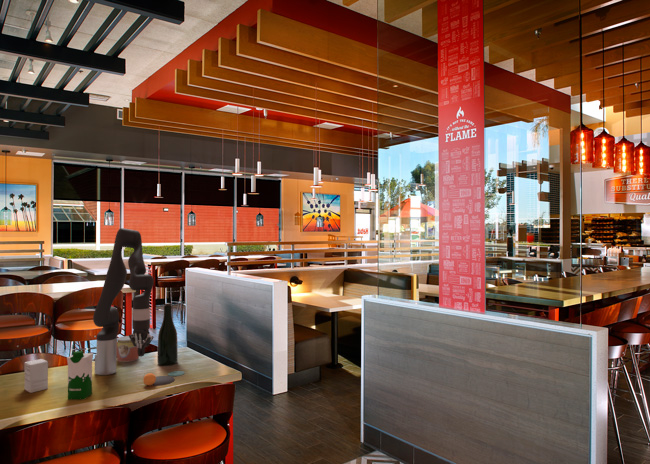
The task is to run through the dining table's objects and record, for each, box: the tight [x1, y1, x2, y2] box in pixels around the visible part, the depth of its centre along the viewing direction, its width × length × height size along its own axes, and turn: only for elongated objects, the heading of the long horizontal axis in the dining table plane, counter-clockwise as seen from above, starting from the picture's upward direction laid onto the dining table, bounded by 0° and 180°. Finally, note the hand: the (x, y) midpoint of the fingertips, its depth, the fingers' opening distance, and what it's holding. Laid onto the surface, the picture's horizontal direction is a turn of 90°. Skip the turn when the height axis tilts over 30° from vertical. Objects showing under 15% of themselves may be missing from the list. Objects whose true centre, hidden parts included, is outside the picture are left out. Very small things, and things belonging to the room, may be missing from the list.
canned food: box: [117, 335, 140, 363], centre depth 256 cm, size 11×11×12 cm
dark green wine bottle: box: [157, 302, 179, 366], centre depth 248 cm, size 10×10×33 cm
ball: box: [142, 372, 157, 386], centre depth 213 cm, size 6×6×6 cm
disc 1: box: [143, 375, 176, 387], centre depth 219 cm, size 14×14×1 cm
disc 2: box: [167, 370, 185, 377], centre depth 230 cm, size 8×8×1 cm
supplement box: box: [24, 358, 49, 394], centre depth 207 cm, size 7×7×13 cm
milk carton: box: [66, 350, 94, 400], centre depth 197 cm, size 9×9×20 cm
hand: (141, 355), depth 208 cm, fingers closed
